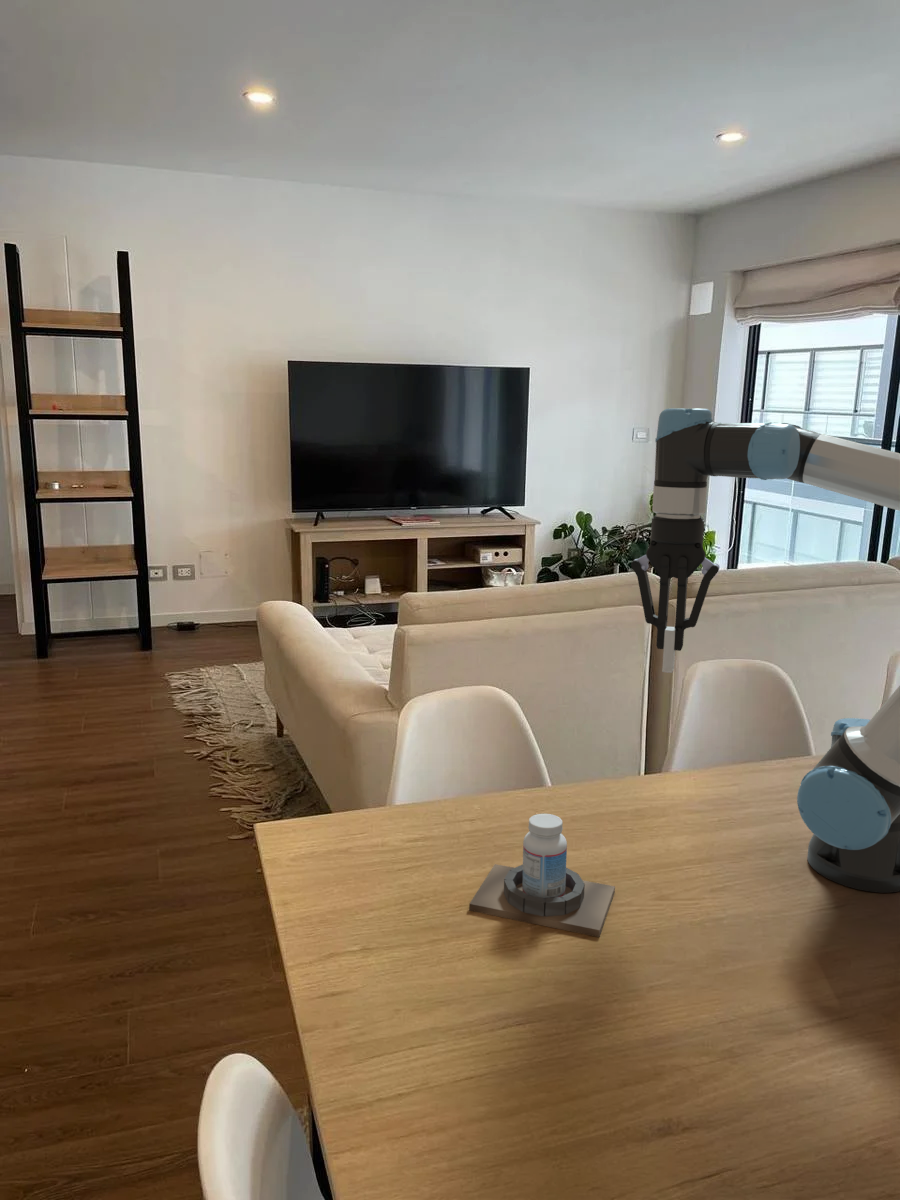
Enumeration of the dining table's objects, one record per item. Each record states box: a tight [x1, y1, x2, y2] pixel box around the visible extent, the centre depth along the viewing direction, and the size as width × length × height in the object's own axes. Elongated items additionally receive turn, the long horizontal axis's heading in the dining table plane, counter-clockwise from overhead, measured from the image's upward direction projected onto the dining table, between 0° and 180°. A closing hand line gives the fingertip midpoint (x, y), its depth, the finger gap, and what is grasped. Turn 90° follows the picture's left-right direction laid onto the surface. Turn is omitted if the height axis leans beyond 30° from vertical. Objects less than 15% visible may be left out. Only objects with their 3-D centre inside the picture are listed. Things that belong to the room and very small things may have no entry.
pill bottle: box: [522, 813, 568, 898], centre depth 123 cm, size 6×6×11 cm
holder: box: [468, 863, 616, 938], centre depth 124 cm, size 18×12×3 cm, turn 70°
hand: (668, 670), depth 134 cm, fingers closed
